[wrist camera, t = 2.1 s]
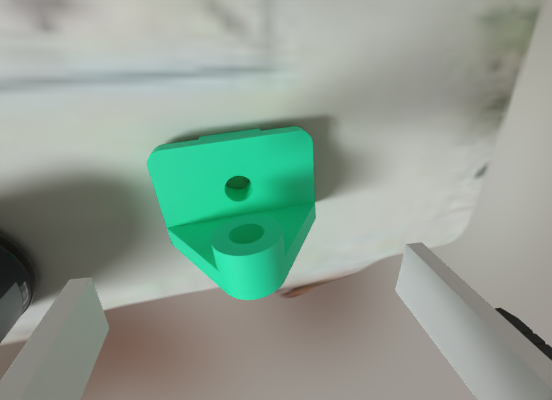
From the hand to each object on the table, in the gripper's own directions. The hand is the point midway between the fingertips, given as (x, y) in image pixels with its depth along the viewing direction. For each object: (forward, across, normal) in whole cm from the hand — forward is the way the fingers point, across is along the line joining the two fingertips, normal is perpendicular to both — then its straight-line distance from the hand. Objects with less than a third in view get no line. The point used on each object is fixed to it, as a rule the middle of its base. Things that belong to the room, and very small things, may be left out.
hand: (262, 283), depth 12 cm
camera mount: (+14, 0, 0) cm, 14 cm away
